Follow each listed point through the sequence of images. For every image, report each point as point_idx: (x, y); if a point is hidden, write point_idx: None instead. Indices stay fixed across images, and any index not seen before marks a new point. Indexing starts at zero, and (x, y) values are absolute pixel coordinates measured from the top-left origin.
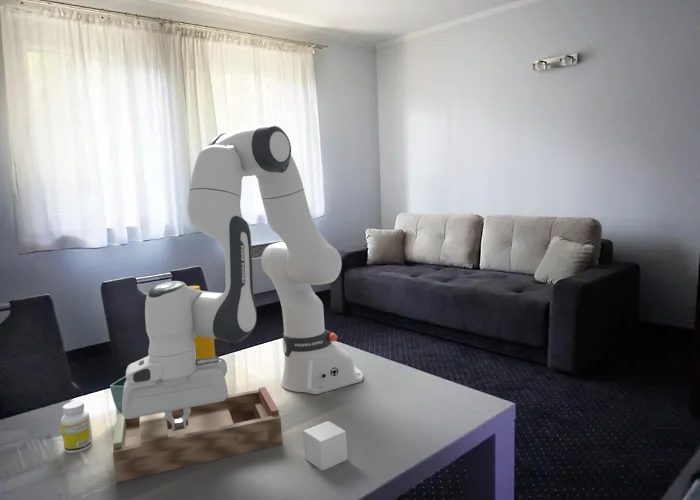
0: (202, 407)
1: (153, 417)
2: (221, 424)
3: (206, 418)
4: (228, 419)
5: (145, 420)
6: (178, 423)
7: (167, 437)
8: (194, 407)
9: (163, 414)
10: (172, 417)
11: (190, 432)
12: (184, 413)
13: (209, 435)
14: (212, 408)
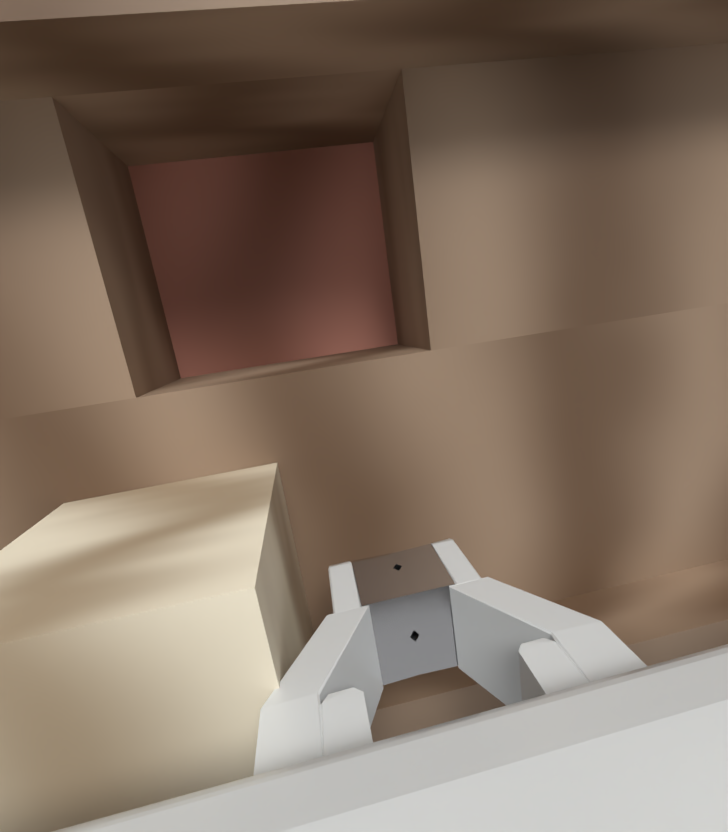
0: (578, 29)
1: (107, 762)
2: (665, 414)
3: (574, 259)
4: (723, 344)
5: (6, 824)
6: (414, 668)
7: None
8: (508, 24)
9: (241, 692)
10: (357, 651)
11: (450, 484)
12: (504, 633)
13: None
14: (647, 46)
